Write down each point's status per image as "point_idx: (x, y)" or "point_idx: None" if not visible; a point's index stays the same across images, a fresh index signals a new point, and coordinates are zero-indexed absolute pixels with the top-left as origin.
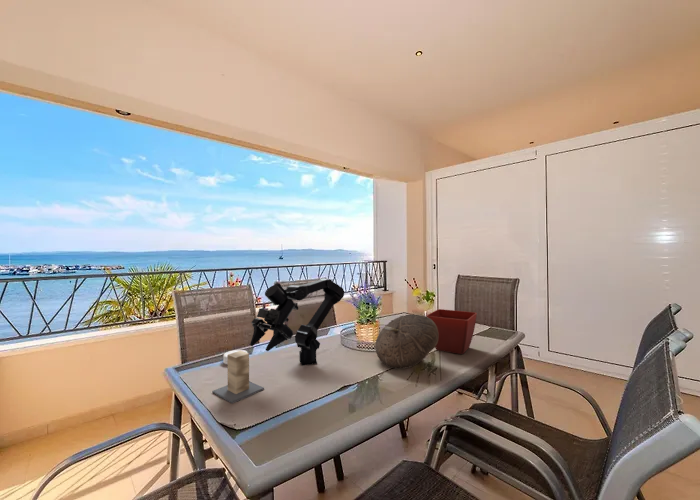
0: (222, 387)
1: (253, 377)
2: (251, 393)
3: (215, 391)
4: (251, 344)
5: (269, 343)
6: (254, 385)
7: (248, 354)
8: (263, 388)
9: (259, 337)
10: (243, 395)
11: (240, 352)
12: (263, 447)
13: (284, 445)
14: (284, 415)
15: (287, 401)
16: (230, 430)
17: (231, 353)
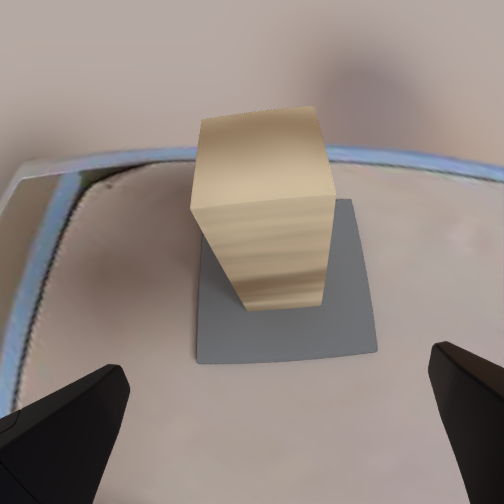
0: (355, 236)
1: (374, 406)
2: (199, 295)
3: (337, 204)
4: (435, 355)
5: (58, 398)
6: (256, 346)
7: (193, 209)
8: (197, 360)
9: (482, 493)
10: (209, 262)
11: (284, 173)
12: (26, 200)
13: (3, 227)
14: (34, 288)
15: (62, 349)
16: (102, 173)
17: (316, 125)
